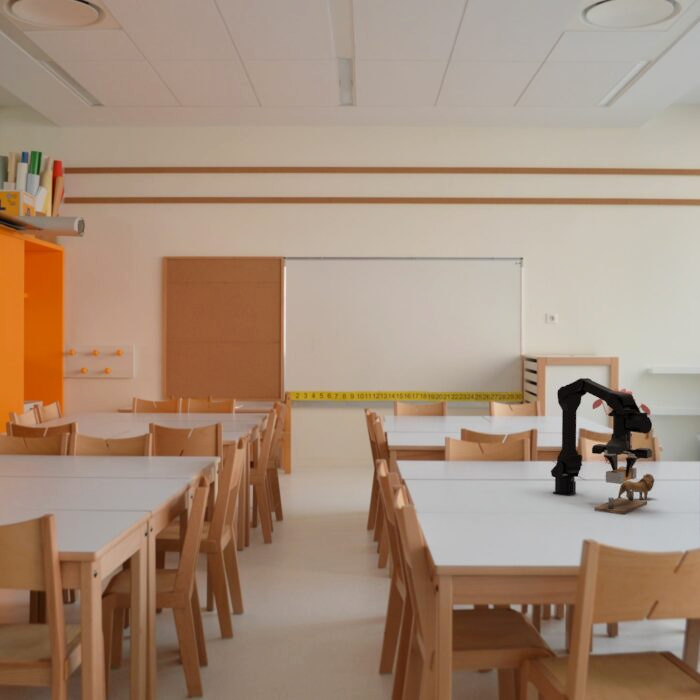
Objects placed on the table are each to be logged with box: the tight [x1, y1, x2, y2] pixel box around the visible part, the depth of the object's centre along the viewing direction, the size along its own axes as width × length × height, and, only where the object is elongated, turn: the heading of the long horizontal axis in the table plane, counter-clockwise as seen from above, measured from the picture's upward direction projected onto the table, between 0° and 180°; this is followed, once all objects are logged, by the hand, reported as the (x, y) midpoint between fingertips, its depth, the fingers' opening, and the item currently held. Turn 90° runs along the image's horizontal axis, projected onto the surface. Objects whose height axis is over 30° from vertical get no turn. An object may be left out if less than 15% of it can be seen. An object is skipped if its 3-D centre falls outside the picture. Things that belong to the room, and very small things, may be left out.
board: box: [593, 490, 648, 516], centre depth 265 cm, size 10×22×4 cm, turn 141°
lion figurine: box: [617, 473, 655, 502], centre depth 279 cm, size 15×5×9 cm, turn 105°
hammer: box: [605, 466, 637, 485], centre depth 265 cm, size 5×15×4 cm, turn 141°
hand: (621, 476), depth 265 cm, fingers closed on hammer, 3 cm apart
